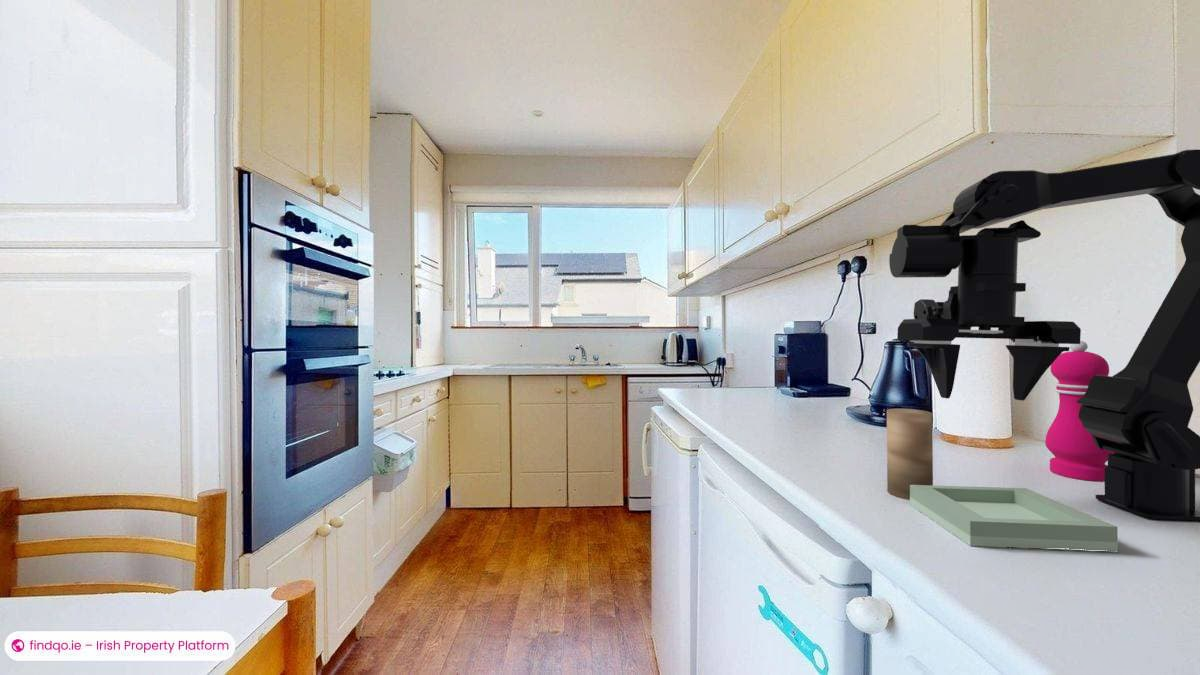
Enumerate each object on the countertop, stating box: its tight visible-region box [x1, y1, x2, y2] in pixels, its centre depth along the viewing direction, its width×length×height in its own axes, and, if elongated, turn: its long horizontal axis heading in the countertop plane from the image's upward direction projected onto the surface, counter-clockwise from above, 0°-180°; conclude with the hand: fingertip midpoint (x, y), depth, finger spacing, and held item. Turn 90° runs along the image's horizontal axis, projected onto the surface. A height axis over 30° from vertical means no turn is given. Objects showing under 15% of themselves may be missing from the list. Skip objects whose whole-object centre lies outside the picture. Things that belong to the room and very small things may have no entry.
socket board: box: [909, 484, 1119, 551], centre depth 50 cm, size 13×11×2 cm
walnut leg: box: [886, 408, 934, 501], centre depth 60 cm, size 5×5×11 cm
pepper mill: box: [1044, 340, 1114, 482], centre depth 67 cm, size 7×7×20 cm
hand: (982, 399), depth 58 cm, fingers open, 9 cm apart
